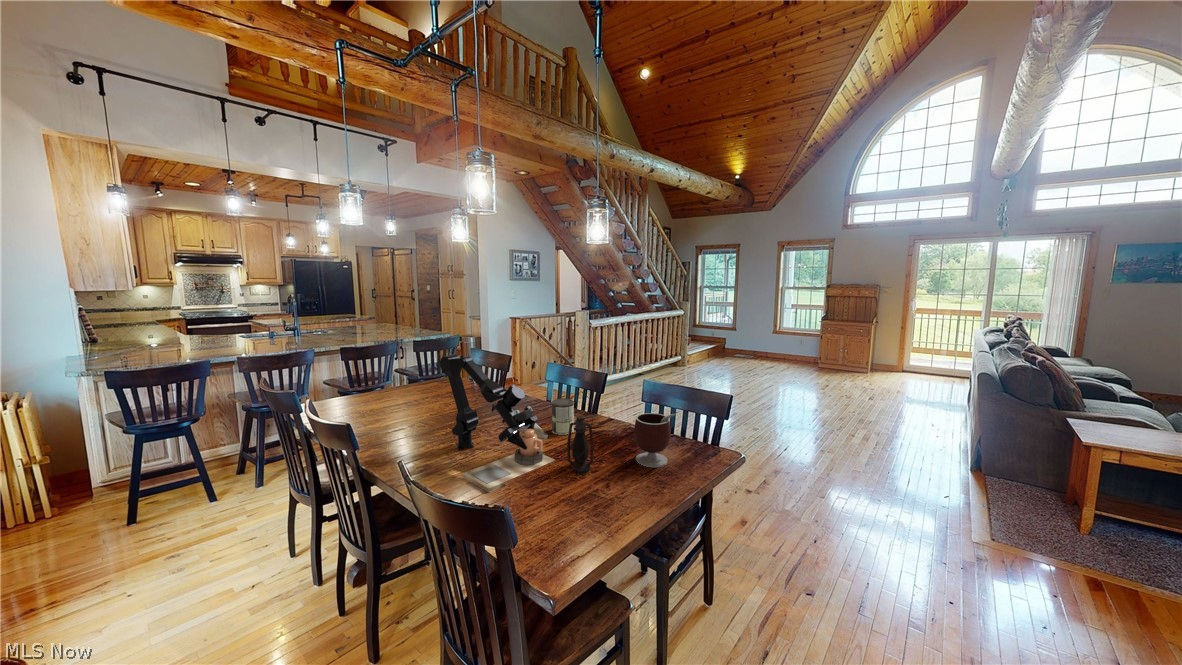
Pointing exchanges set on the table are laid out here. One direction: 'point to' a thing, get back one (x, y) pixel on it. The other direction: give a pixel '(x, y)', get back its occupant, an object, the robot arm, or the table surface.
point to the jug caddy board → (505, 470)
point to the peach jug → (530, 443)
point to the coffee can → (562, 416)
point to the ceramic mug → (538, 432)
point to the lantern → (580, 444)
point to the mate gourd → (652, 438)
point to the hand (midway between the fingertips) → (531, 445)
